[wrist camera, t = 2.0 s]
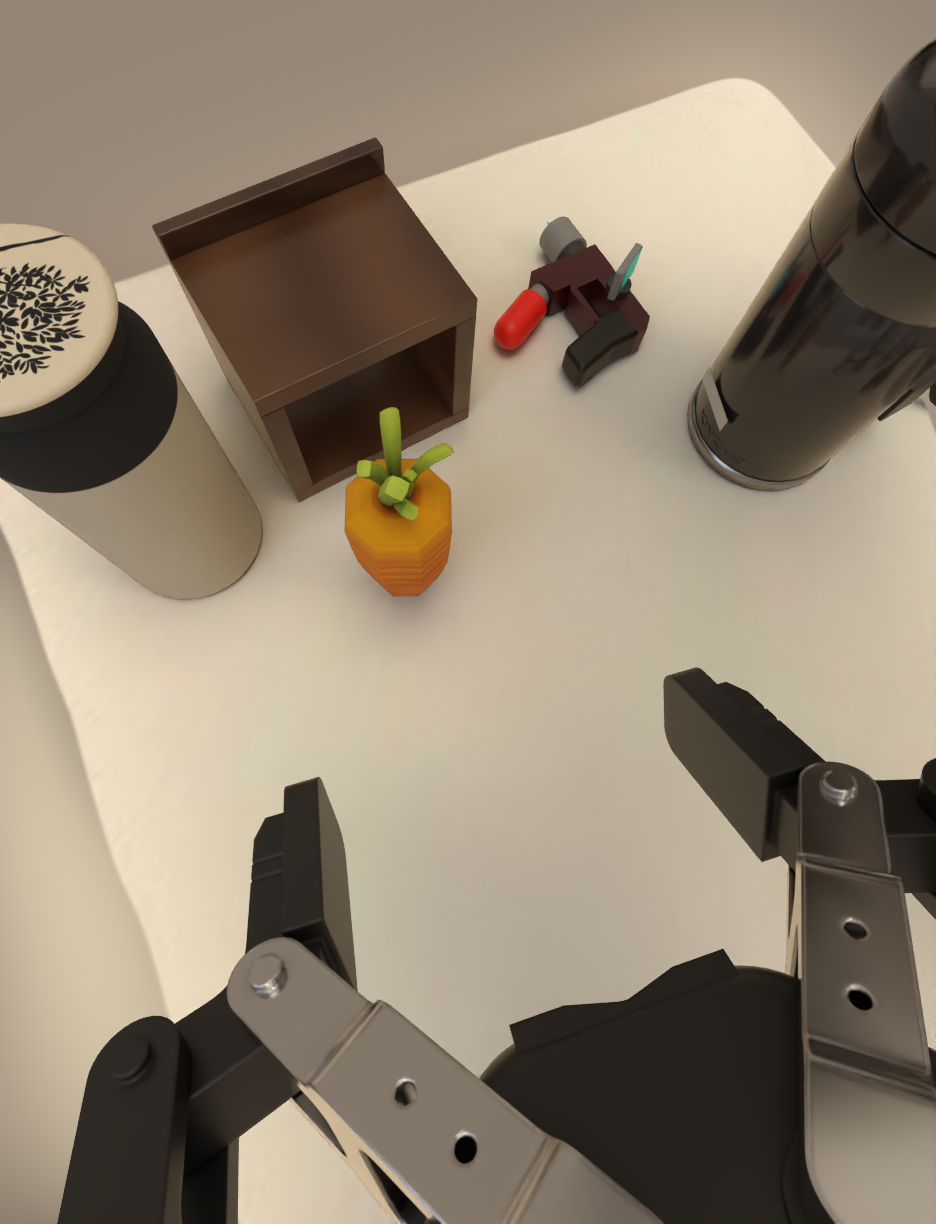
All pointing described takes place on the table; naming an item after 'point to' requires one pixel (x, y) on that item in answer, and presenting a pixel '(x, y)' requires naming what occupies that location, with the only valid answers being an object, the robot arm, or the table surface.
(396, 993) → the table surface
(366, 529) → the carrot
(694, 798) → the table surface
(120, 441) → the travel mug
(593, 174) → the table surface
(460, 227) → the table surface
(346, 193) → the shelf
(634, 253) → the toy gun
